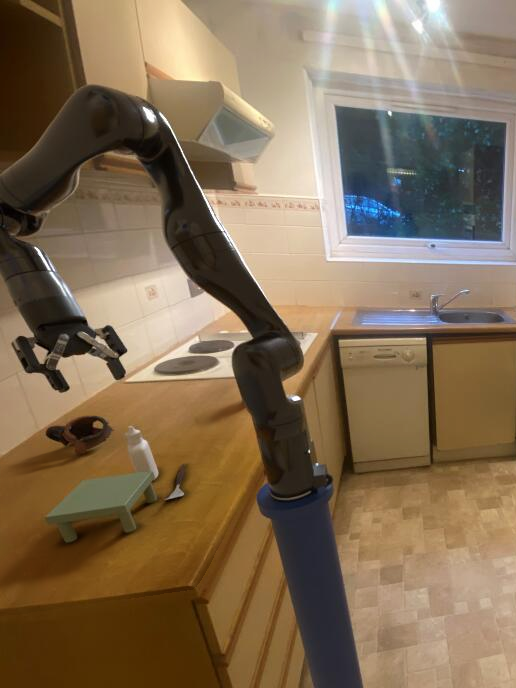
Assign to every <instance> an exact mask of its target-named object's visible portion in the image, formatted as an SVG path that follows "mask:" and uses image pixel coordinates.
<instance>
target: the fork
mask: <svg viewBox="0 0 516 688" xmlns="http://www.w3.org/2000/svg"><path fill="white" fill-rule="evenodd" d="M184 477H185V463H182V464H181V466H180V468H179V471H178V473H177V475H176V487H175V489H174V491H172V493H171V494H169V496H168V497H167V498H164V499H163V500H164V501H168V500H172V499H176V498H180V497H183V496H184V495H185V492H184V491H182V489H180V485H181V484H182V482H183V480H184Z"/></svg>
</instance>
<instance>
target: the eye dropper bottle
mask: <svg viewBox="0 0 516 688" xmlns="http://www.w3.org/2000/svg"><path fill="white" fill-rule="evenodd" d="M124 436H125V439H126V442H127V445H126V451H127V454H128V457H129V459H130V462H131V465H132V467H133V470H134V473H139V472H147V471H153V473H154V476H155V478H154V479H153V481H155V480H156V479H157V478H158V476H159V469H158V467H157V466H158V465H157V463H156V462H155V458H154V455H153V452H152V450H151V447H150V445H149V442H148V441H147V440H146V439H144V438H143V435H142V432H141V430H140V429H135V428H134V426H133V425H129V426H128V427H127V431H126V433H124Z"/></svg>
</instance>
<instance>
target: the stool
mask: <svg viewBox="0 0 516 688" xmlns="http://www.w3.org/2000/svg"><path fill="white" fill-rule="evenodd" d="M154 478H155V476H154V473H153V471H147V472H139V473H135V472H132V473H126V474H125V473H124V474H117V475H109V476H102V477H95V478H88V479H87V478H86V479H83V480H82V481H81V482H80V483H79V484H78V485H77V486H75V487H74V488H73V489H72V490H71V491H70V492H69V493H68V494H67V495H66V496H65V497H64V498H63V499H62V500H61V501H60V502H59V503H57V505H56V506H54V507H53V508H52V509H51V510H50V511H49V513H48V514H46V515H45V516H44V519H45V521H46V523H47V525H48V526H49V525H50V526H52V525H56V526H57V528H58V531H59V532H60V535H61V537H62V539H63V541H64V542H65V543H66V544H67V543H68V544H69V543H72V542H74V541H76V540H77V539H78V538H79V537H78V535H77V533H76V531H75V528H74V526H73V524H72V522H77V521H83V520H89V519H96V518H102V517H109V516H118V519H119V521H120V523H121V526H122V528H123V531H124V533H125V534H129V533H132V532H134V531H136V530H137V525H136V522H135V520H134V518H133V515H132V512H131V509H132V507H134V505H135V503H136V502H137V501H138V500H139V498H140V497H141V496H142V495H143V496H144V498H145V500H146V503H147V504H152V503H156V501H158V497H157V494H156V491H155V488H154V486H153V483H152V482H153V481H154V480H153V479H154Z"/></svg>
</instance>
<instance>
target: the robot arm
mask: <svg viewBox="0 0 516 688" xmlns="http://www.w3.org/2000/svg"><path fill="white" fill-rule="evenodd" d="M107 153H110V154H113V155H119V156H125V157H131V158H132V157H133V158H135V159H136V160H137V161H138V162H139V163H140V165H141V167H143V168H144V170H145V171H146V174H147V175H148V176H149V178H150V180H151V182H152V183H153V185H154V186H155V189H156V191H157V193H158V196H159V200H160V208H161V209H160V210H161V231H162V234H163V238H164V241H165V244H166V245H167V248H168V249H169V251H170V252H171V254H172V255H173V257H174V259H175V260H176V262H177V264H178V265H179V266H180V268H181V270H182V271H183V272H184V274H185V276H186V277H187V278H188V279H189V281H191V283H193V284H194V285H195V286H196V287H198V288H199V289H200V290H201V291H203V292H204V293H205V294H207V295H209V297H211V298H213V299H214V300H216V301H217V302H219V303H220V304H222V305H223V306H224V307H226V308H227V309H229V310H230V311H231V312H232V313H233V314H234V315H235V316H236V317H237V318H238V319H239V320H240V321H241V323H242V324H243V326H244V327H245V328H246V330H247V331H248V333H249V335H250V336H251V338H249V339H248V340H245V341H243V342H241V343H239V344H238V345H236V346H235V347H234V348H233V351H232V354H231V368H232V372H233V376H234V379H235V382H236V385H237V389H238V392H239V395H240V398H241V401H242V403H243V406H244V408H245V409H246V411H247V412H248V413H249V415H250V416H251V420H252V425H253V429H254V433H255V436H256V441H257V445H258V449H259V453H260V456H261V460H262V464H263V468H264V470H263V475H264V477H266V480H267V481H266V482H267V483H268V485H269V490H270V495H271V497H272V499H274V500H276V501H279V502H292V501H297V500H300V499H303V498H305V497H307V496H309V495H311V494H315V493H318V488H319V487H325V488H326V487H327V486H329V485H330V484H331V483H332V482H333V483H334V477H333V475H331V474H329V472H328V467H327V464H319V462H318V458H317V453H316V447H315V442H314V439H311V435H310V430H309V423H308V419H307V414H306V408H305V403H304V400H303V399H302V397H300V396H299V395H297V394H292V393H286V391H285V387H284V385H283V382H285V381H287V380H288V379H290V378H291V377H293V376H295V375H297V374H298V373H300V372H301V370H303V367H304V364H305V356H304V352H303V349H302V347H301V345H300V343H299V341H298V340H297V338H296V337H295V334H293V332H292V331H291V330H290V328H289V327H288V325H287V324H286V323H285V322H284V320H283V319H282V317H281V316H280V315H279V314H278V312H277V310H276V309H275V308H274V307H273V305H272V304H271V303H270V301H269V299H268V298H267V296H266V294H265V293H264V291H263V290H262V289H261V286H260V285H259V283H258V282H257V280H256V279H255V277H254V276H253V274H252V271H250V269H249V267H248V266H247V264H246V263H245V261H244V258H243V257H242V255H241V253H240V252H239V250H238V248H237V246H236V245H235V243H234V241H233V239H232V237H231V236H230V234H229V233H228V231H227V230H226V227H225V226H224V224H223V222H221V220H220V218H219V217H218V215H217V214H216V211H215V210H214V207H213V206H212V205H211V202H210V201H209V200H208V197H207V196H206V194H205V192H204V190H203V189H202V187H201V185H200V184H199V182H198V180H197V178H196V176H195V174H194V172H193V170H192V168H191V166H190V164H189V162H188V160H187V157H186V156H185V154H184V151H183V149H182V147H181V145H180V143H179V141H178V138H177V136H176V135H175V132H174V129H172V126H171V124H170V123H169V121H168V119H167V118H166V117H165V115H164V114H163V112H162V111H161V110H160V109H159V108H158V107H157V106H156V105H155V104H154V103H152V102H150V101H149V100H147V99H146V98H144V97H141V96H138V95H135V94H133V93H129V92H126V91H122V90H119V89H117V88H113V87H110V86H106V85H102V84H95V83H92V84H86V85H83V86H81V87H79V88H78V89H77V90H75V91H74V92H73V93H72V94H71V95H70V97H69V98H68V99H67V100H66V102H64V105H62V107H61V109H59V111H58V113H57V114H56V116H55V117H54V119H53V120H52V121H51V122H50V123H49V125H48V126H47V128H45V131H44V132H43V133H42V135H41V137H40V138H39V139H38V141H37V142H36V143H35V144H34V146H33V147H32V148H31V149H30V150H29V151H28V152H26V153H25V154H24V155H23V156H22V157H20V158H19V159H18V160H17V161H16V162H14V163H13V164H12V165H10V166H9V167H8V168H6V169H5V170H3V172H1V173H0V278H1V280H2V281H3V283H4V285H5V287H6V289H7V292H8V294H9V297H10V299H11V300H12V303H13V305H14V306H15V308H16V309H17V310H18V312H19V314H20V316H21V317H22V319H23V321H24V323H26V326H27V327H28V329H29V331H30V332H31V333H32V334H33V336H30V337H26V336H25V335H19V336H16V338H15V339H13V340H12V342H11V343H10V345H11V347H12V348H13V350H14V353H15V355H16V357H17V359H18V360H19V363H20V364H21V367H22V369H23V370H24V372H25V373H26V374H28V375H29V374H30V375H32V374H42V375H44V377H45V378H46V381H47V382H48V383H49V385H50V387H51V389H53V390H54V391H58V393H60V394H63V393H66V392H68V391H69V390H70V389H71V387H70V385H69V384H68V382H67V379H66V378H65V377H64V375H63V373H62V372H61V369H59V368H58V369H57V367H58V364H59V362H60V359H61V358H63V359H66V358H70V357H73V356H85V355H86V354H88V355H90V356H92V357H97V358H99V359H100V360H102V361H105V362H106V363H105V365H106V366H107V368H108V370H109V372H110V373H111V375H112V377H113V379H114V380H115V381H120V380H123V379H125V377H126V374H127V371H126V369H125V367H124V365H123V364H122V362H121V360H120V358H121V357H123V356H124V355H125V354H127V353H128V349H127V347H126V345H125V344H124V342H123V340H122V339H121V338H120V336H119V334H118V333H117V332H116V330H115V329H114V327H113V325H110V324H107V325H105V326H104V327H100V328H95V329H94V328H93V327H92V326H91V325H89V323H88V320H87V317H86V316H85V313H84V312H83V310H82V308H81V306H80V305H79V304H78V301H77V300H76V298H75V296H74V295H73V292H72V291H71V289H70V288H69V286H68V284H67V283H66V282H65V280H63V278H62V277H61V275H60V274H59V272H58V270H57V268H56V267H55V265H54V264H53V261H52V260H51V258H50V257H49V255H48V253H47V252H46V250H44V249H43V248H42V247H41V246H39V245H37V244H34V243H32V242H31V243H30V242H27V241H23V240H20V239H26V238H30V237H32V236H35V235H37V234H38V233H39V232H40V231H41V230H42V228H43V226H44V224H45V221H46V220H47V219H48V216H49V214H50V212H51V210H53V209H55V208H56V207H57V206H59V205H60V204H62V203H63V202H64V201H66V200H67V199H68V198H70V197H71V196H72V195H73V194H74V193H75V192H76V190H77V188H78V187H79V183H80V174H81V168H82V167H83V166H84V165H85V164H86V163H87V162H89V161H91V160H93V159H96V158H97V157H100V156H102V155H105V154H107ZM97 337H98V338H99V339H100V340H103V341H104V342H105V344H104V343H103V342H101V341H99V340H97V339H96V338H97ZM36 346H38V347H39V348H42V349H43V350H46V354H45V357H44V359H43V363H41V362H40V361H39V358H38V357H37V355H36V353H35V350H34V349H35V347H36ZM327 480H328V481H327Z"/></svg>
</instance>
